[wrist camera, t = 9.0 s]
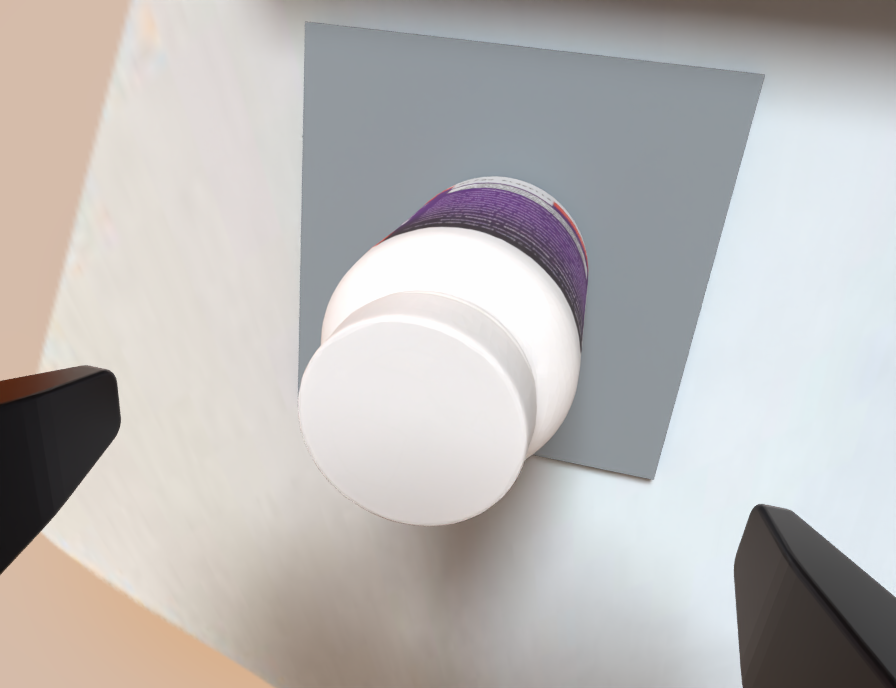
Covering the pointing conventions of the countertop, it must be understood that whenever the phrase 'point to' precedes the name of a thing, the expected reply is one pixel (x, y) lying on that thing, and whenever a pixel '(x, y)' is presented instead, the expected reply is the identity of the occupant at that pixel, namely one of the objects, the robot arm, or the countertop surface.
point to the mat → (547, 167)
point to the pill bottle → (449, 354)
